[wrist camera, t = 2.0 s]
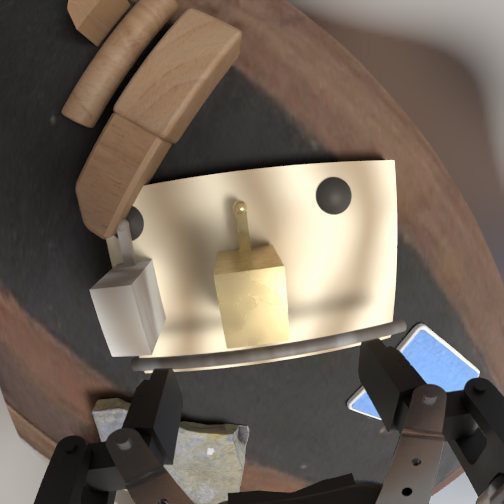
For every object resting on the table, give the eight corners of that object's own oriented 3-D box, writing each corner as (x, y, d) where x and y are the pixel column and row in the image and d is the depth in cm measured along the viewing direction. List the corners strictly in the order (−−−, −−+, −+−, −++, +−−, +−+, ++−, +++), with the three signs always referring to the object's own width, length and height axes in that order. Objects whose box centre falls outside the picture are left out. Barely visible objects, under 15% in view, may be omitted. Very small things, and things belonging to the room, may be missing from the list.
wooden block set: (253, 15, 14) (102, 249, 18) (248, 46, 20) (128, 231, 23) (77, -40, 11) (-35, 146, 14) (99, -13, 16) (2, 145, 20)
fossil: (252, 400, 30) (95, 385, 27) (258, 431, 25) (83, 414, 22) (233, 481, 35) (121, 472, 32) (236, 505, 31) (117, 495, 28)
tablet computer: (478, 369, 31) (482, 373, 30) (421, 430, 34) (425, 435, 32) (416, 317, 27) (422, 323, 26) (341, 401, 30) (344, 409, 28)
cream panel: (148, 363, 26) (131, 412, 19) (105, 193, 22) (63, 203, 15) (383, 329, 27) (417, 368, 20) (385, 160, 22) (433, 160, 16)
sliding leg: (227, 313, 23) (226, 348, 18) (210, 203, 21) (204, 213, 16) (278, 306, 23) (289, 340, 18) (267, 196, 21) (278, 204, 16)
